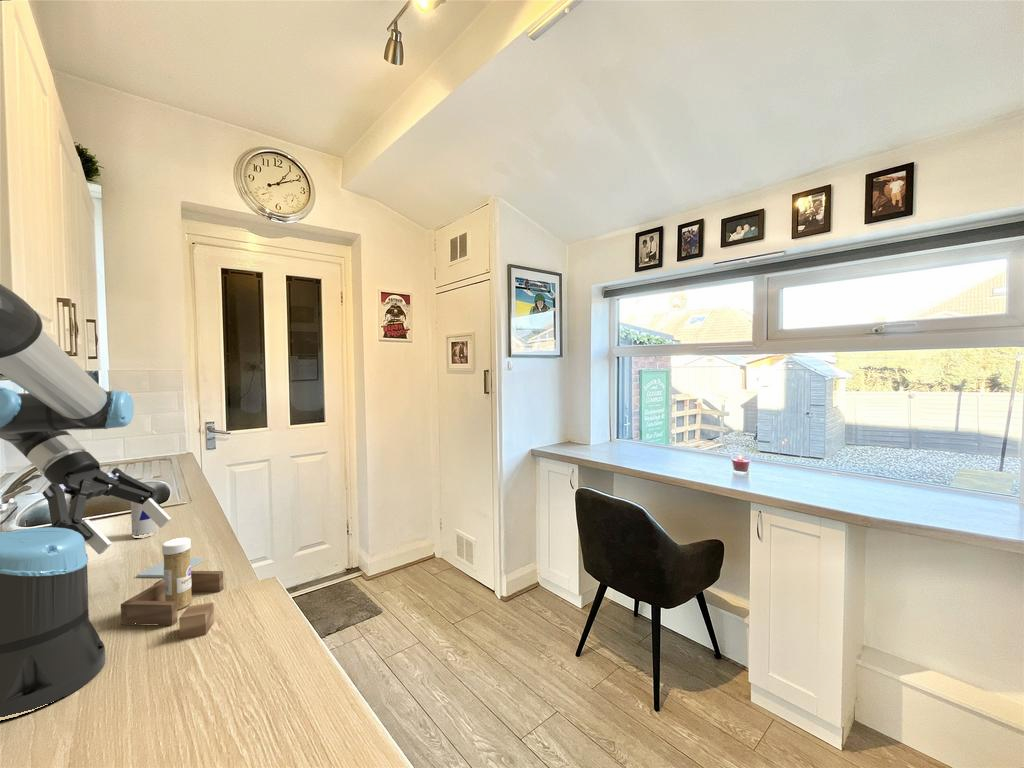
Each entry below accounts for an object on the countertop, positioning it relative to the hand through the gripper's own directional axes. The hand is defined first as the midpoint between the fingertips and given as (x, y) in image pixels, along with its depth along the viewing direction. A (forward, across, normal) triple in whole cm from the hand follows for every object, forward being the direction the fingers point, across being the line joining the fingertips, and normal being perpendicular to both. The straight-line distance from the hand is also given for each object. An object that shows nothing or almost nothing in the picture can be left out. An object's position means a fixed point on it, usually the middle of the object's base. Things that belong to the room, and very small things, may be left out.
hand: (138, 535), depth 87 cm
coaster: (+6, -15, -14) cm, 22 cm away
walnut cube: (+24, +9, +4) cm, 26 cm away
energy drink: (-12, -35, -33) cm, 50 cm away
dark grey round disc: (+10, -8, -10) cm, 16 cm away
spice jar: (+17, +1, -4) cm, 17 cm away
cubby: (+16, +1, -4) cm, 17 cm away
